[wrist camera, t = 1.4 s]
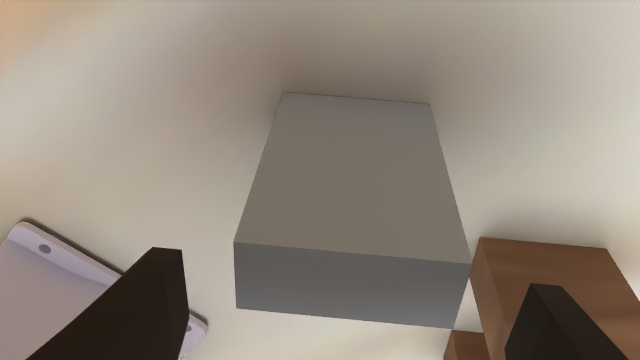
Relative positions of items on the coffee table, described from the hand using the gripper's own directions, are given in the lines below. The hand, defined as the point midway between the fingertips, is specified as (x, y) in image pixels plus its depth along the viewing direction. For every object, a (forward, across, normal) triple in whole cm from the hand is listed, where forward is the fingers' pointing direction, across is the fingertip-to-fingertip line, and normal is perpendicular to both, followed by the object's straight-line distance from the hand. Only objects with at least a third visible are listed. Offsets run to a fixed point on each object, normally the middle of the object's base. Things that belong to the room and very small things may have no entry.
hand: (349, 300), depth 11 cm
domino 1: (+8, 0, 0) cm, 8 cm away
